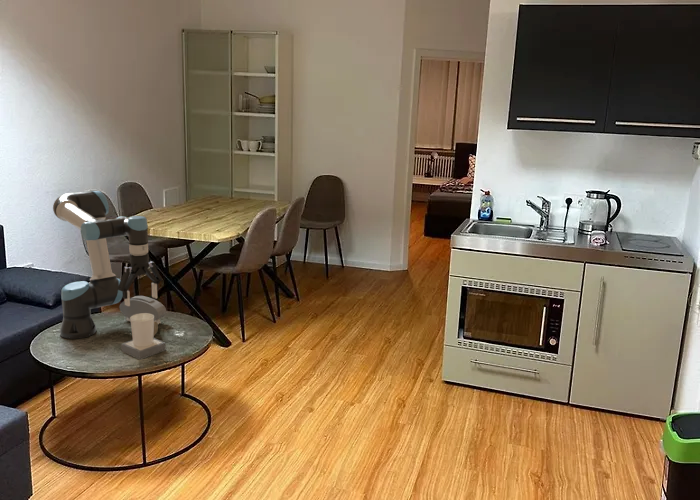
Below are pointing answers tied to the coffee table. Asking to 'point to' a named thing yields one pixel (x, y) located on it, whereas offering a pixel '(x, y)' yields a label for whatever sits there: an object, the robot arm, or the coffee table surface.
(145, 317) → the candle holder
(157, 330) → the ceramic mug
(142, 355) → the pedestal
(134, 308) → the alarm clock
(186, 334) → the coffee table surface
